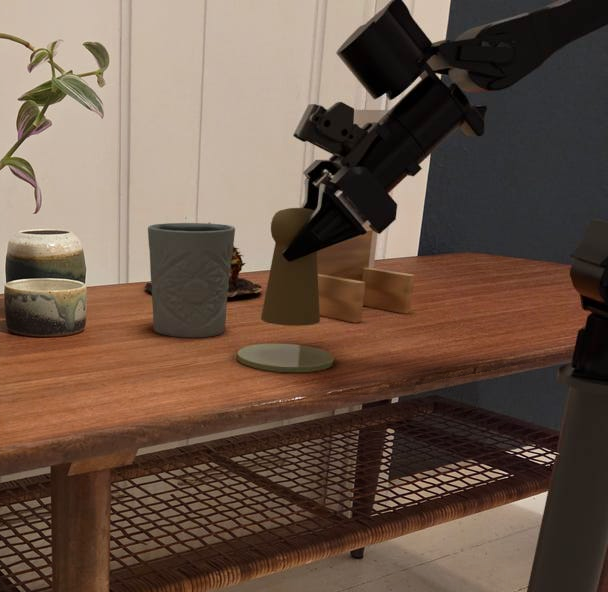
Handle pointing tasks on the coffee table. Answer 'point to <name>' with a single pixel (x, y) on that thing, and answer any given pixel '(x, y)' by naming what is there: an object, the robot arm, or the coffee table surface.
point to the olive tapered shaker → (291, 276)
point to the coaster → (285, 358)
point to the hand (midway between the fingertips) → (281, 254)
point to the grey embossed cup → (190, 277)
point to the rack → (358, 282)
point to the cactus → (234, 278)
